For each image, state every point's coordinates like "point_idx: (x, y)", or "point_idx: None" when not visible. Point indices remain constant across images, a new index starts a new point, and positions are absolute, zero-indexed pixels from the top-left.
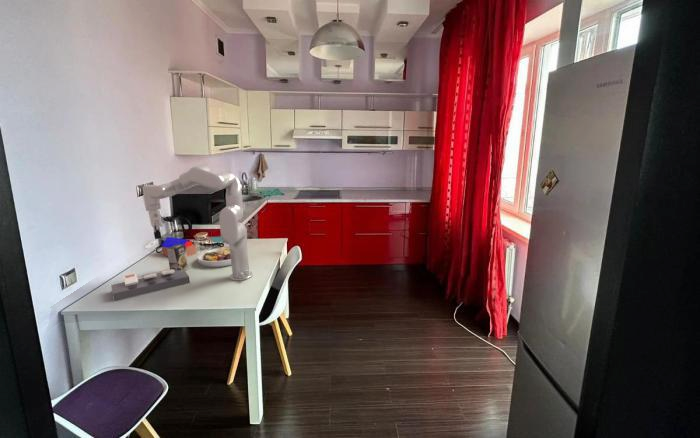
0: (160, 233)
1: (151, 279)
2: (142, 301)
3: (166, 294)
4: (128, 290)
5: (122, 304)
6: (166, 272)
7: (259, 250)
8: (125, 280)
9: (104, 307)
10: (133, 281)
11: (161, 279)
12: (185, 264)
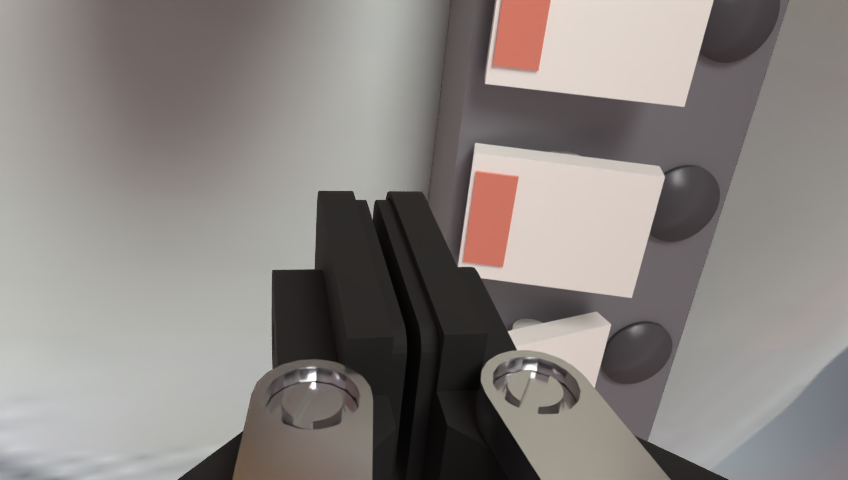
0: (458, 284)
1: None
2: (797, 268)
3: (842, 89)
4: (665, 378)
5: (721, 379)
6: (692, 55)
7: None
8: None
9: None
10: (585, 361)
11: (656, 104)
12: None
